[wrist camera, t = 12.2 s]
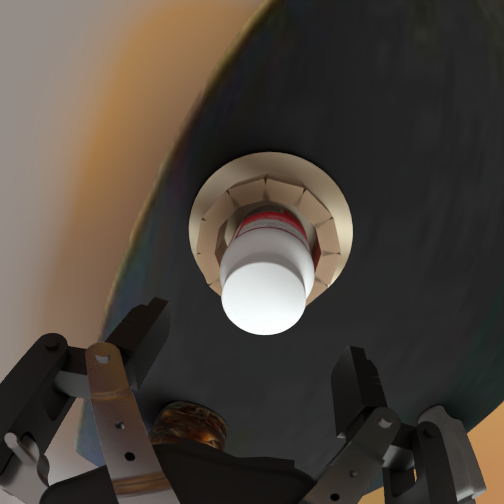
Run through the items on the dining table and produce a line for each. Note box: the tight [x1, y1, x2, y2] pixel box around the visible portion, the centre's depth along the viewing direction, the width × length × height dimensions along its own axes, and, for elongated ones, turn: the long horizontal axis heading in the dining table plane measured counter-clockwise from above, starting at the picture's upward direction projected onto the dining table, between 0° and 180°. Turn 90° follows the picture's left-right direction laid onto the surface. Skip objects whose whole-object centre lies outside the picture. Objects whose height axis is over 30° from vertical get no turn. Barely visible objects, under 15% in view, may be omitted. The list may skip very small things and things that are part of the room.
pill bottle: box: [220, 205, 314, 335], centre depth 21 cm, size 6×6×11 cm
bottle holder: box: [189, 152, 353, 306], centre depth 24 cm, size 15×15×5 cm
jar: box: [148, 401, 228, 452], centre depth 32 cm, size 12×12×15 cm
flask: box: [418, 405, 486, 504], centre depth 26 cm, size 15×6×20 cm, turn 51°
